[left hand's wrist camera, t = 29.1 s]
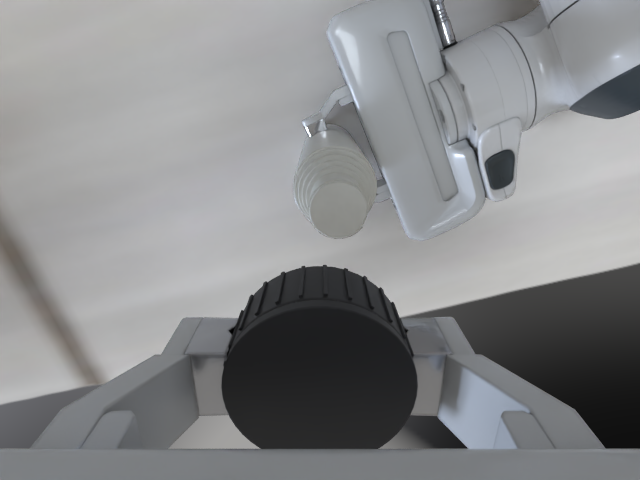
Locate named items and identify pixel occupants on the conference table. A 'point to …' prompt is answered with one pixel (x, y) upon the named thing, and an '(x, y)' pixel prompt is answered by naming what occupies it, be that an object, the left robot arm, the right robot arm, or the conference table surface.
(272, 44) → the conference table surface
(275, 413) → the cap
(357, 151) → the bottle
